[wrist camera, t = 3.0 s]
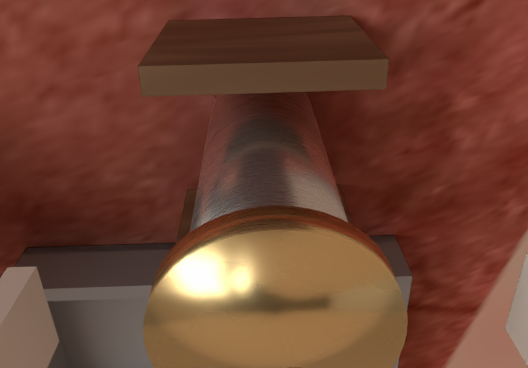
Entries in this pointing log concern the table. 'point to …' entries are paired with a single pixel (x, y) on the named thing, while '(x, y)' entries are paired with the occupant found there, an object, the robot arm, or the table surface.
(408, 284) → the tray
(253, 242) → the silver metal cylinder
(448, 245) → the table surface
